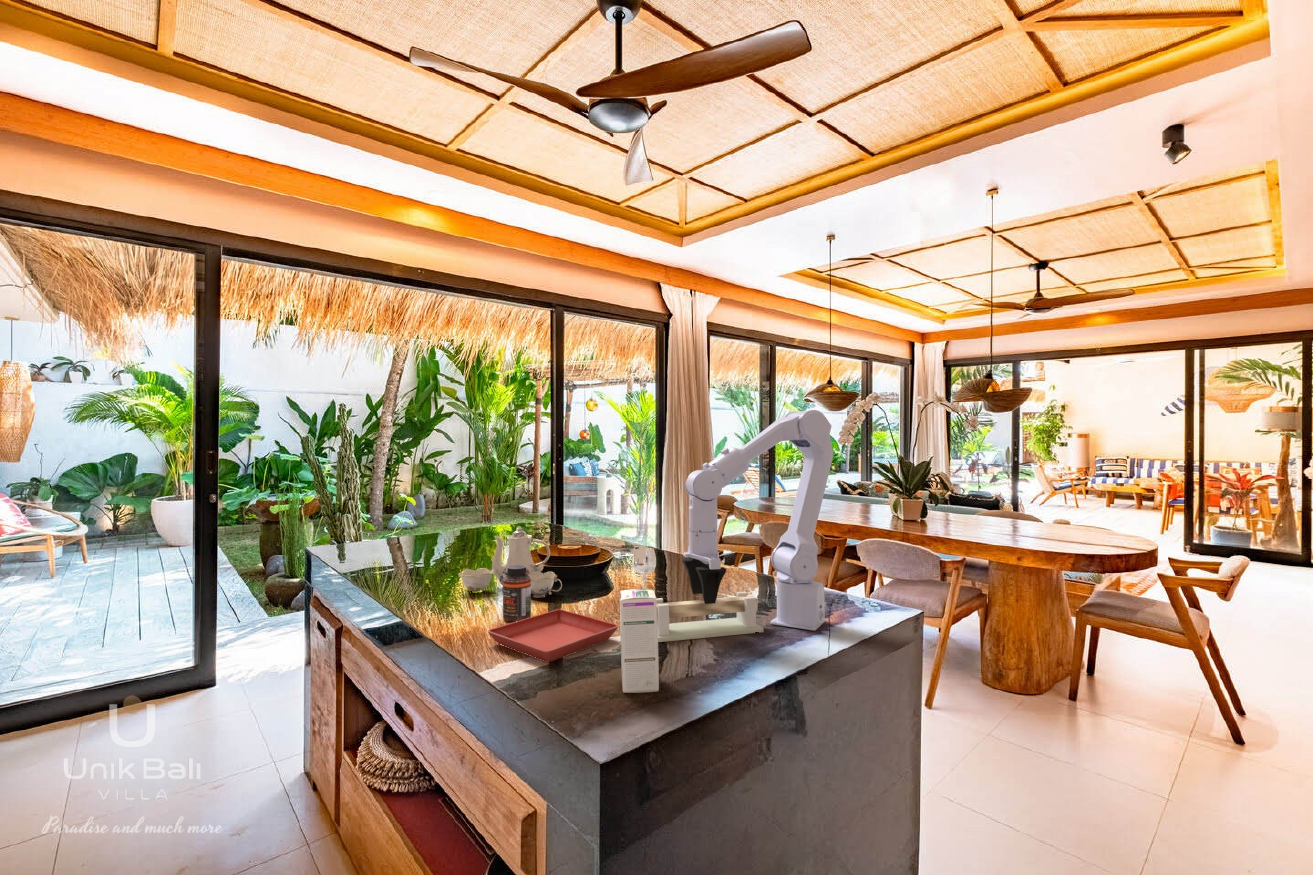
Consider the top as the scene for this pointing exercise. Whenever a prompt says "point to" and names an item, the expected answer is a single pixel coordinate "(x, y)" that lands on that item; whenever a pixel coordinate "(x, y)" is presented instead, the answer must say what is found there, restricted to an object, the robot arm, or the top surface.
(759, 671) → the top surface
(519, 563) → the chinaware
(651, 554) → the wineglass
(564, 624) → the plant saucer
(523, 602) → the supplement bottle
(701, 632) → the rail stand
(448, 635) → the top surface
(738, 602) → the rail
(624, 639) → the syrup box
